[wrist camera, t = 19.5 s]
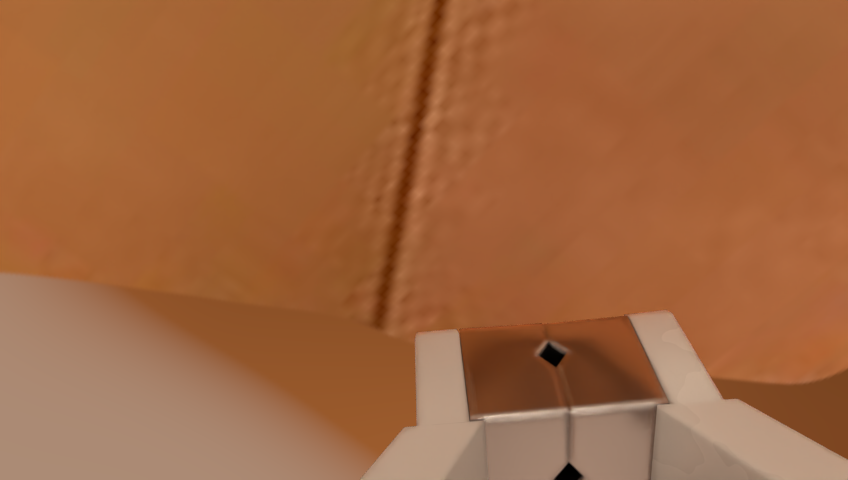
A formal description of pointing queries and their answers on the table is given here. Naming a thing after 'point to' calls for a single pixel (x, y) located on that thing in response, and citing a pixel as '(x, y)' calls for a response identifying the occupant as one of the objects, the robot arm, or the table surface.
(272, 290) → the table surface
